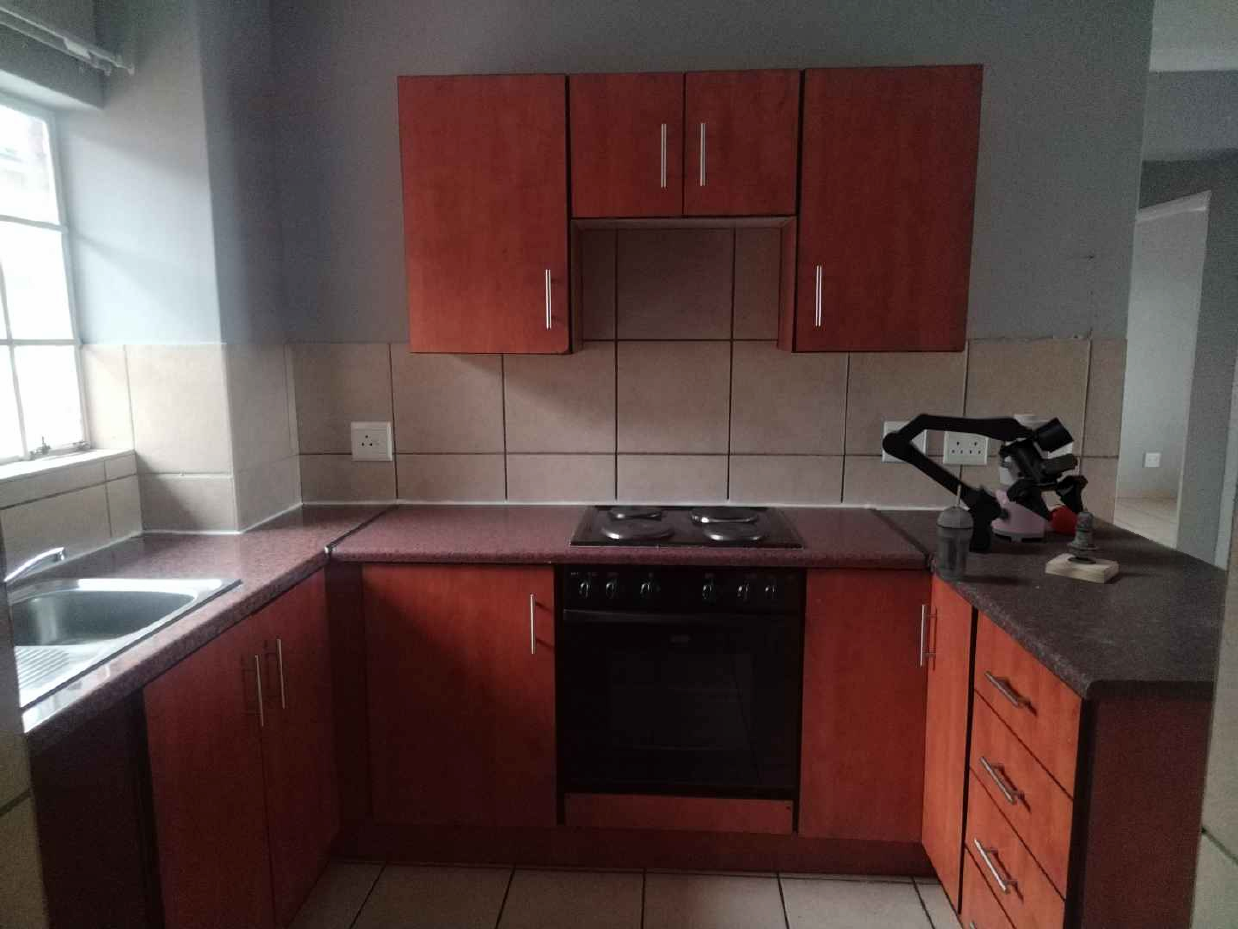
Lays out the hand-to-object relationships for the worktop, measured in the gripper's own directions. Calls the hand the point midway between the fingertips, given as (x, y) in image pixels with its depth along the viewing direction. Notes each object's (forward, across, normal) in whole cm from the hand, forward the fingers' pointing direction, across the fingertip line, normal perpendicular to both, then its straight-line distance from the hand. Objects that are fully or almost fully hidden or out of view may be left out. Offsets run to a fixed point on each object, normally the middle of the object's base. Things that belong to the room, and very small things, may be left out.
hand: (1067, 518), depth 165 cm
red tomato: (-10, +30, +26) cm, 41 cm away
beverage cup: (+7, -29, +9) cm, 31 cm away
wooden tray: (+11, 0, +5) cm, 12 cm away
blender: (-10, +11, +26) cm, 30 cm away
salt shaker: (+9, 0, +3) cm, 10 cm away
